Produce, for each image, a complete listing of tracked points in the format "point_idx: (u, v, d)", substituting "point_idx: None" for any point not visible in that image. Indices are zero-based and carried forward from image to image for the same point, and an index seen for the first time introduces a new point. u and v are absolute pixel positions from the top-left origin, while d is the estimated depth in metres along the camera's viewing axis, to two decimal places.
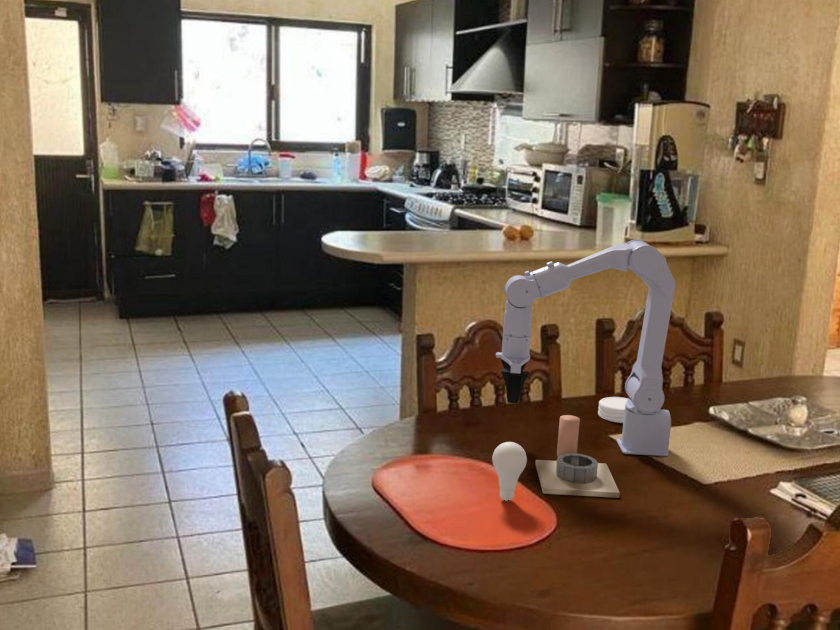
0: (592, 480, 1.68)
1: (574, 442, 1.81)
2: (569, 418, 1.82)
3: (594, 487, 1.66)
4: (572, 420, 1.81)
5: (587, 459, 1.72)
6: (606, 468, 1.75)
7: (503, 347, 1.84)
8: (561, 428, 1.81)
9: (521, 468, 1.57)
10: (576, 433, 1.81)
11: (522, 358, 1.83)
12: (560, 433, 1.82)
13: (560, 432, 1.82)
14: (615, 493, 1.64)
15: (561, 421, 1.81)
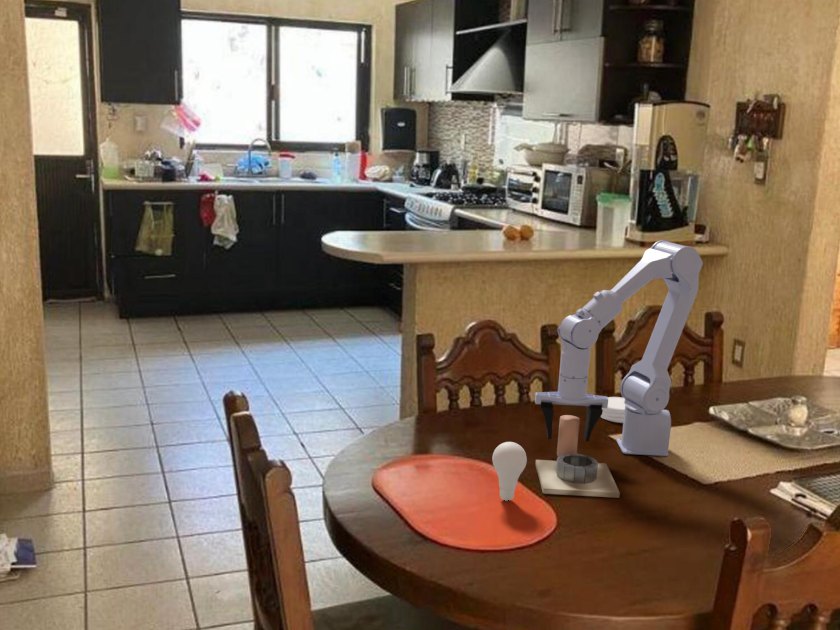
0: (592, 480, 1.68)
1: (574, 442, 1.81)
2: (569, 418, 1.82)
3: (594, 487, 1.66)
4: (572, 420, 1.81)
5: (587, 459, 1.72)
6: (606, 468, 1.75)
7: None
8: (561, 428, 1.81)
9: (521, 468, 1.57)
10: (576, 433, 1.81)
11: (559, 397, 1.80)
12: (560, 433, 1.82)
13: (560, 432, 1.82)
14: (615, 493, 1.64)
15: (561, 421, 1.81)
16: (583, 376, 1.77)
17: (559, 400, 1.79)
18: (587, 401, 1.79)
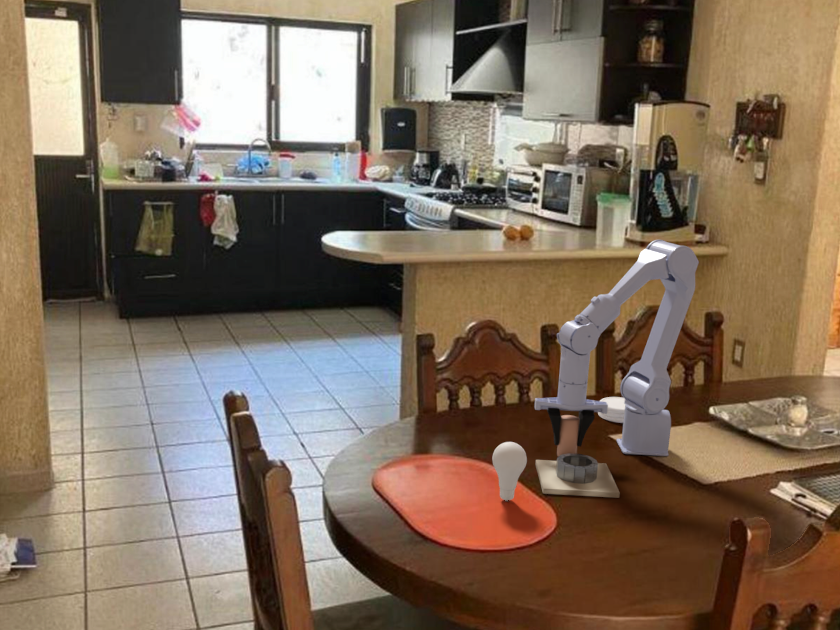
0: (592, 480, 1.68)
1: (574, 442, 1.81)
2: (569, 418, 1.82)
3: (594, 487, 1.66)
4: (572, 420, 1.81)
5: (587, 459, 1.72)
6: (606, 468, 1.75)
7: None
8: (561, 428, 1.81)
9: (521, 468, 1.57)
10: (576, 433, 1.81)
11: (559, 402, 1.80)
12: (560, 433, 1.82)
13: (560, 432, 1.82)
14: (615, 493, 1.64)
15: (561, 421, 1.81)
16: (582, 382, 1.78)
17: (559, 406, 1.79)
18: (587, 407, 1.79)
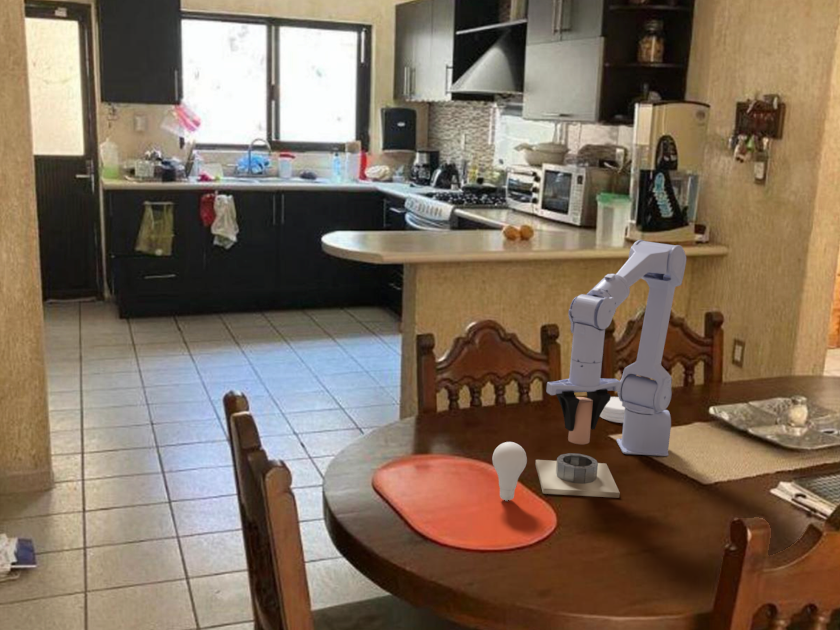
0: (592, 480, 1.68)
1: (589, 425, 1.68)
2: (582, 400, 1.68)
3: (594, 487, 1.66)
4: (587, 402, 1.67)
5: (587, 459, 1.72)
6: (606, 468, 1.75)
7: None
8: (576, 411, 1.67)
9: (521, 468, 1.57)
10: (591, 415, 1.68)
11: (575, 384, 1.65)
12: None
13: None
14: (615, 493, 1.64)
15: None
16: (601, 359, 1.65)
17: (576, 388, 1.64)
18: (603, 386, 1.66)
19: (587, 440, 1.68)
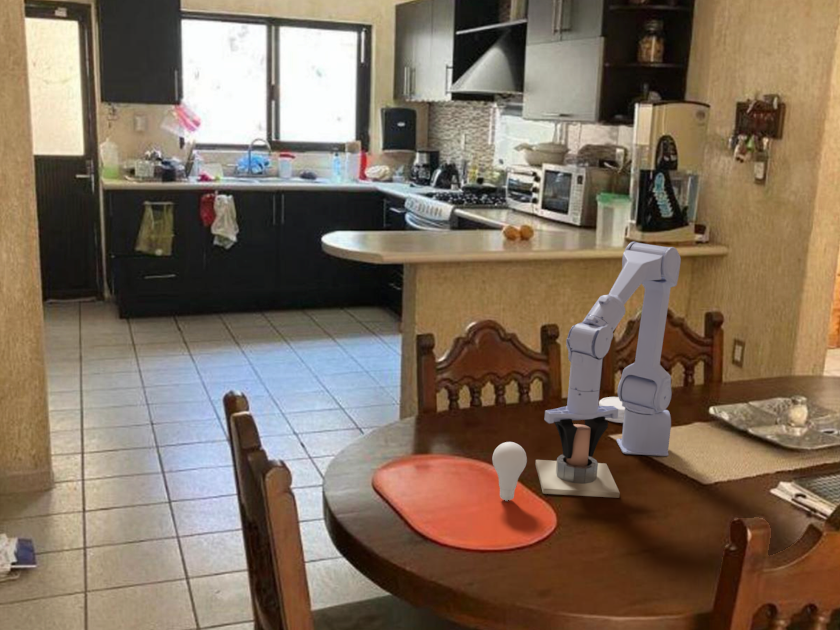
0: (592, 480, 1.68)
1: (587, 452, 1.69)
2: (579, 427, 1.69)
3: (594, 487, 1.66)
4: (584, 429, 1.68)
5: None
6: (606, 468, 1.75)
7: None
8: (574, 439, 1.68)
9: (521, 468, 1.57)
10: (588, 443, 1.69)
11: (573, 412, 1.66)
12: None
13: None
14: (615, 493, 1.64)
15: None
16: (599, 387, 1.66)
17: (574, 416, 1.65)
18: (601, 414, 1.67)
19: None
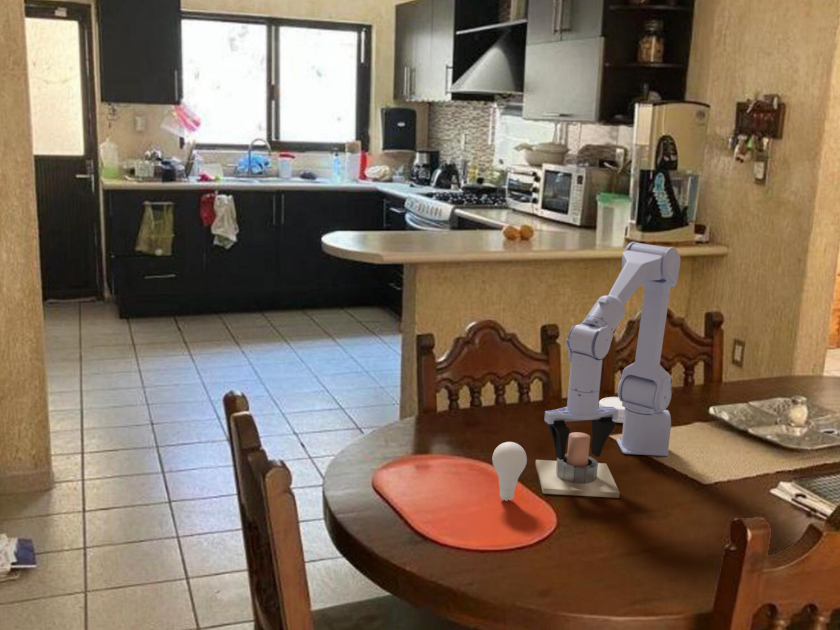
0: (592, 480, 1.68)
1: (586, 460, 1.69)
2: (579, 436, 1.69)
3: (594, 487, 1.66)
4: (584, 438, 1.68)
5: None
6: (606, 468, 1.75)
7: None
8: (573, 447, 1.68)
9: (521, 468, 1.57)
10: (588, 451, 1.69)
11: (573, 413, 1.66)
12: (572, 453, 1.68)
13: (572, 452, 1.68)
14: (615, 493, 1.64)
15: (573, 440, 1.68)
16: (599, 388, 1.66)
17: (574, 417, 1.65)
18: (601, 415, 1.67)
19: None
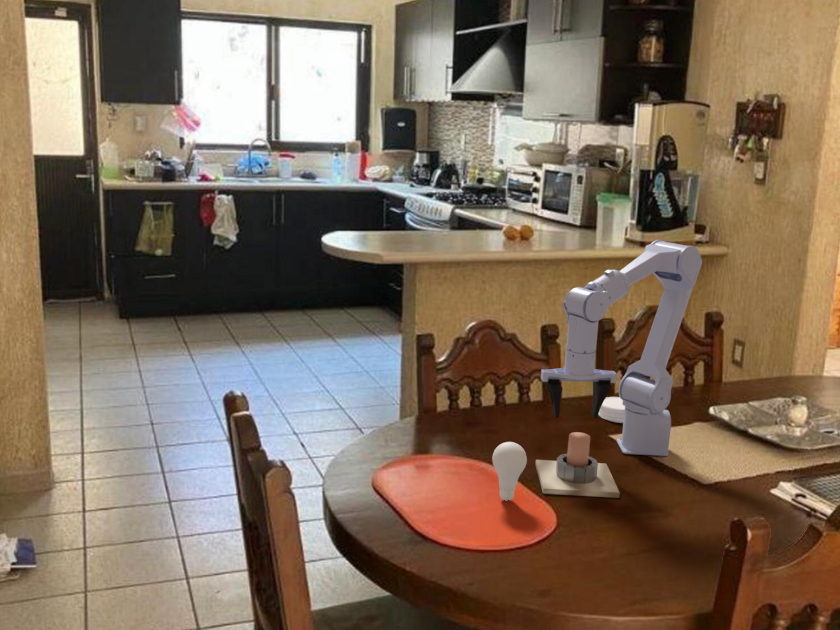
0: (592, 480, 1.68)
1: (586, 460, 1.69)
2: (579, 436, 1.69)
3: (594, 487, 1.66)
4: (584, 438, 1.68)
5: None
6: (606, 468, 1.75)
7: None
8: (574, 447, 1.68)
9: (521, 468, 1.57)
10: (588, 451, 1.69)
11: (567, 373, 1.72)
12: (572, 453, 1.68)
13: (572, 452, 1.68)
14: (615, 493, 1.64)
15: (573, 440, 1.68)
16: (593, 350, 1.71)
17: (567, 376, 1.72)
18: (596, 376, 1.72)
19: None
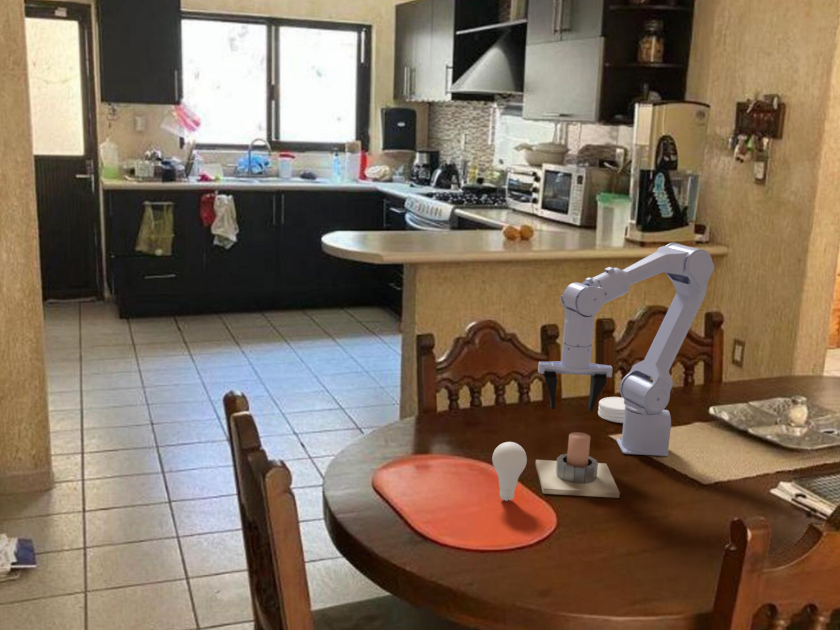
0: (592, 480, 1.68)
1: (586, 460, 1.69)
2: (579, 436, 1.69)
3: (594, 487, 1.66)
4: (584, 438, 1.68)
5: None
6: (606, 468, 1.75)
7: None
8: (574, 447, 1.68)
9: (521, 468, 1.57)
10: (588, 451, 1.69)
11: (563, 366, 1.77)
12: (572, 453, 1.68)
13: (572, 452, 1.68)
14: (615, 493, 1.64)
15: (573, 440, 1.68)
16: (587, 344, 1.75)
17: (563, 369, 1.76)
18: (591, 370, 1.76)
19: None
